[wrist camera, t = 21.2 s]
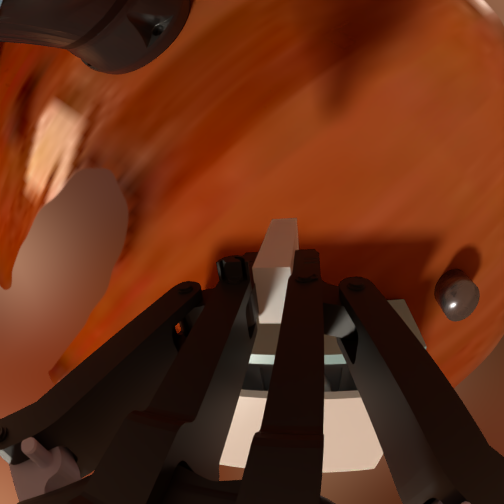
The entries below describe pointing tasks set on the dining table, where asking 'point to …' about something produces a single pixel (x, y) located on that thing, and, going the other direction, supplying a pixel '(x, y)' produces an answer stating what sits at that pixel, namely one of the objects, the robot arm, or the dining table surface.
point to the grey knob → (456, 295)
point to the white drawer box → (334, 429)
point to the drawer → (333, 358)
